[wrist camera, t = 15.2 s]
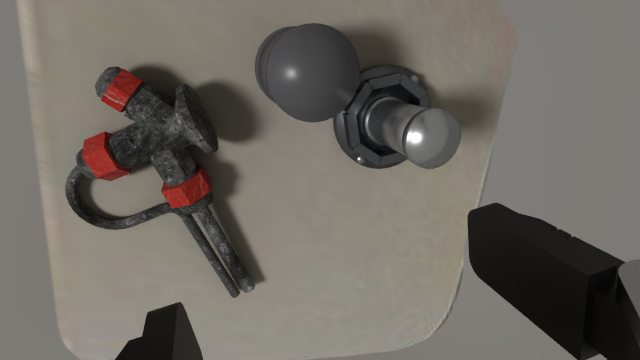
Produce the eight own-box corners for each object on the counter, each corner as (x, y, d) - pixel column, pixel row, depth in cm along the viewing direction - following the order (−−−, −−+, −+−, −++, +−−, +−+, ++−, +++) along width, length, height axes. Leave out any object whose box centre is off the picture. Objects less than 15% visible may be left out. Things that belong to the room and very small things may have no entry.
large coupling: (251, 28, 35) (263, 24, 28) (329, 25, 37) (359, 21, 30) (258, 110, 38) (271, 126, 31) (331, 103, 40) (360, 118, 33)
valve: (20, 103, 34) (175, 40, 34) (169, 303, 46) (286, 257, 46) (-27, 123, 29) (159, 47, 28) (156, 346, 40) (290, 293, 40)
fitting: (358, 101, 40) (404, 117, 31) (403, 90, 41) (460, 103, 32) (365, 148, 41) (410, 176, 32) (408, 136, 42) (463, 161, 33)
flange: (325, 77, 39) (331, 78, 37) (422, 55, 41) (433, 56, 39) (342, 176, 43) (348, 183, 41) (429, 152, 45) (440, 157, 43)
